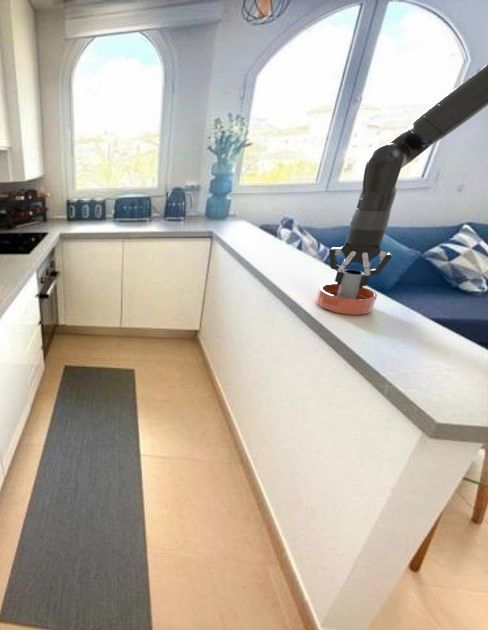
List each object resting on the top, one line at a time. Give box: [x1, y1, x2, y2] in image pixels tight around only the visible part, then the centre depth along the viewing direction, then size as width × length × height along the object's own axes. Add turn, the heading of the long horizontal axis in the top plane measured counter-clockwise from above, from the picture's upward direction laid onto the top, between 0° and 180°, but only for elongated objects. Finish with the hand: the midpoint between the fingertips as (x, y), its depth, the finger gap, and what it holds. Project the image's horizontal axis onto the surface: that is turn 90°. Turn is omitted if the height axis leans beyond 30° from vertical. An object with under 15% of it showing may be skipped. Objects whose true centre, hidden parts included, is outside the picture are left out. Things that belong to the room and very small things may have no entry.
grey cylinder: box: [337, 269, 364, 299], centre depth 100 cm, size 4×4×10 cm
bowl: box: [315, 282, 378, 316], centre depth 101 cm, size 13×13×5 cm
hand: (349, 284), depth 99 cm, fingers closed on grey cylinder, 4 cm apart
